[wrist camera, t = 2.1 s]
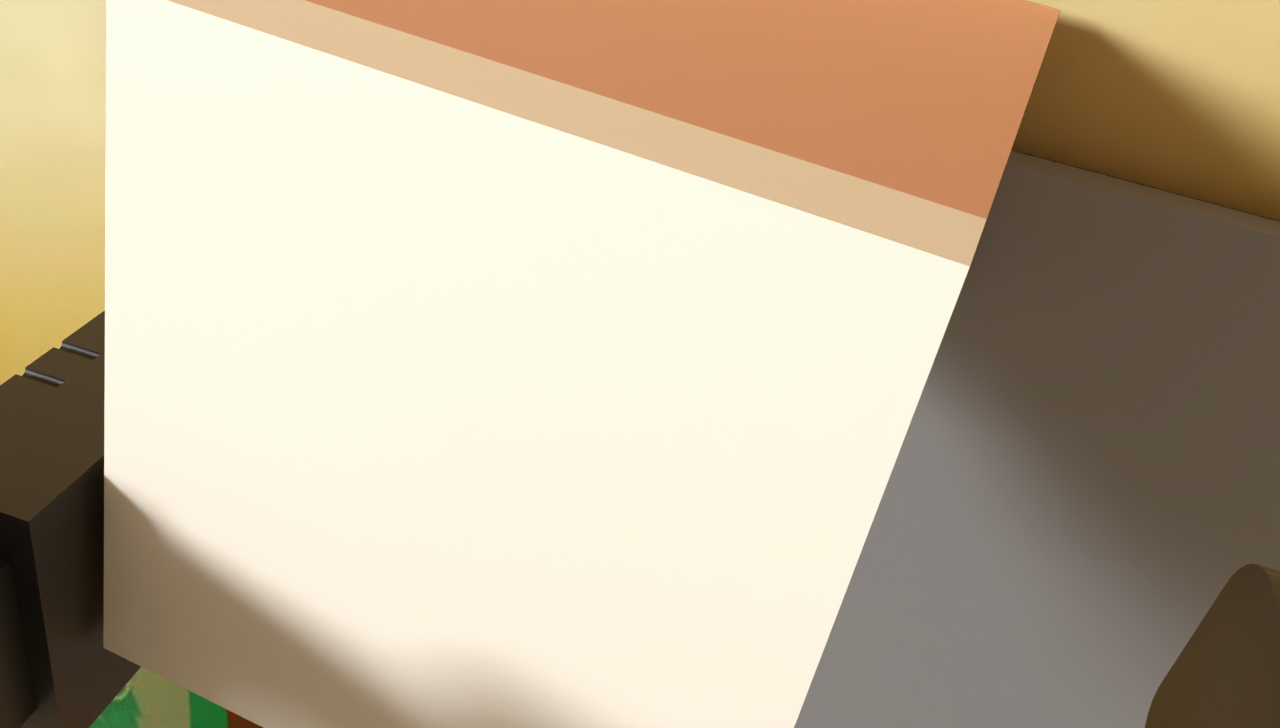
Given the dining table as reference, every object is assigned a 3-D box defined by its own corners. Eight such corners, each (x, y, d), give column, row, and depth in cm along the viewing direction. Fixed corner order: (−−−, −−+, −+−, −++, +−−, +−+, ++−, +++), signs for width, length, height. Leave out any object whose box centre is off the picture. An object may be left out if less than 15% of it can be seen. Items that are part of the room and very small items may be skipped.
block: (746, -76, 16) (105, -22, 6) (1060, 9, 15) (969, 268, 5) (673, 216, 18) (102, 647, 8) (946, 310, 17) (708, 950, 7)
